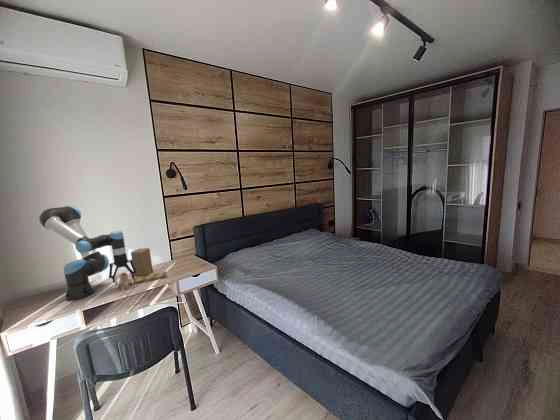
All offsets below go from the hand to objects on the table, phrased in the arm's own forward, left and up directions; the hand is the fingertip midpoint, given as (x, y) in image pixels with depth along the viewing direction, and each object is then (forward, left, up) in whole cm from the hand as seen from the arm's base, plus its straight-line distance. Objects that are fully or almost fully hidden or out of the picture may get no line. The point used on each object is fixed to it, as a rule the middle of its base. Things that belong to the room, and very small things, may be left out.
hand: (124, 285), depth 178 cm
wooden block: (+10, +26, -3) cm, 28 cm away
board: (+11, +8, -2) cm, 14 cm away
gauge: (0, +4, -2) cm, 4 cm away
